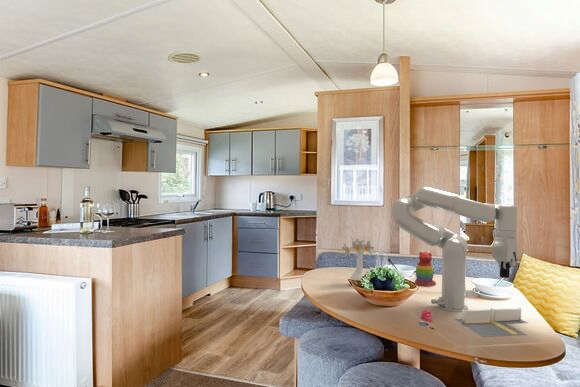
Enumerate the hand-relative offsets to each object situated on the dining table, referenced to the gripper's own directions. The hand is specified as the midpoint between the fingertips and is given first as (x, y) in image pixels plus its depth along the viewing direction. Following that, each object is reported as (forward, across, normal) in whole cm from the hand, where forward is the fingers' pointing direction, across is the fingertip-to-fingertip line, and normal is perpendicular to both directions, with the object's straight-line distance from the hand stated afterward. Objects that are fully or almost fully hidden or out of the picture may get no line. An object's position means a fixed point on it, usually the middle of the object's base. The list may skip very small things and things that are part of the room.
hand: (504, 277), depth 160 cm
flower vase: (+17, -52, -46) cm, 71 cm away
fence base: (+17, +11, -10) cm, 22 cm away
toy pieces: (+17, +5, -35) cm, 40 cm away
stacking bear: (+17, -52, -8) cm, 55 cm away
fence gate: (+16, +6, -3) cm, 17 cm away
